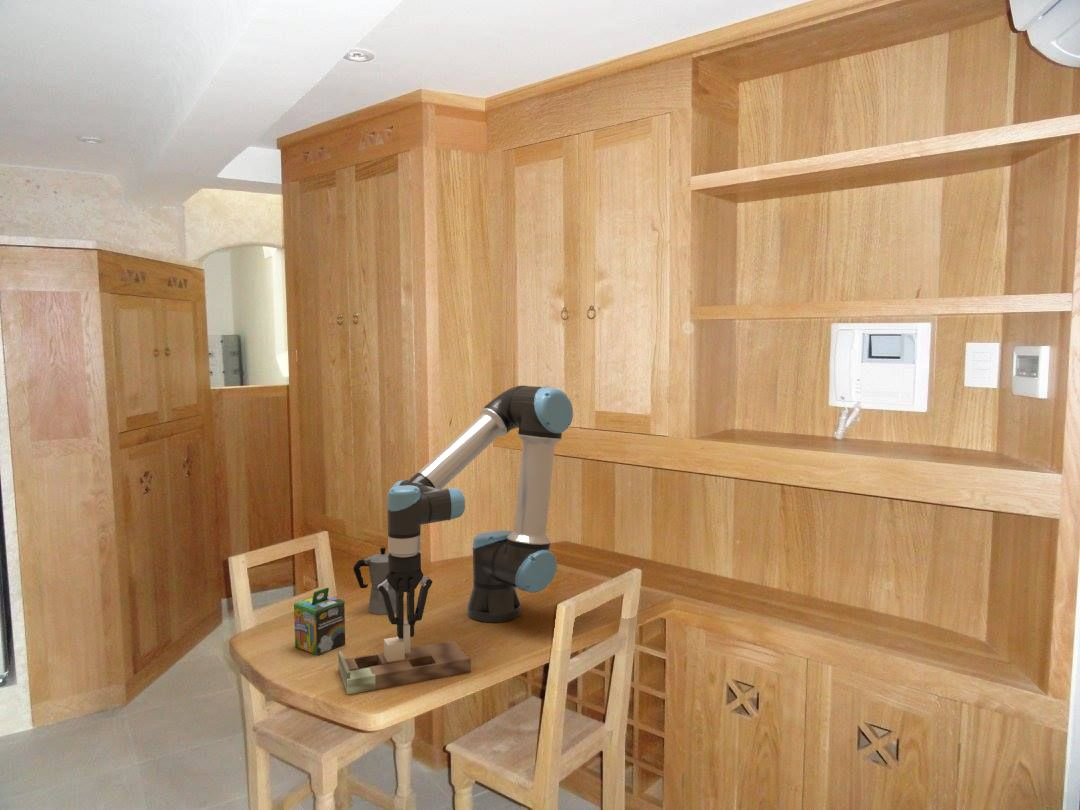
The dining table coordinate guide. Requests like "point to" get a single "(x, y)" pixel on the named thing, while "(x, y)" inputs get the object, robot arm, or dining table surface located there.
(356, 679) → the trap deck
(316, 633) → the chalk box
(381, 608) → the coffeepot
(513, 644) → the dining table surface
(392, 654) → the ivory block
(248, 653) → the dining table surface
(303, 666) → the dining table surface
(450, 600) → the dining table surface
